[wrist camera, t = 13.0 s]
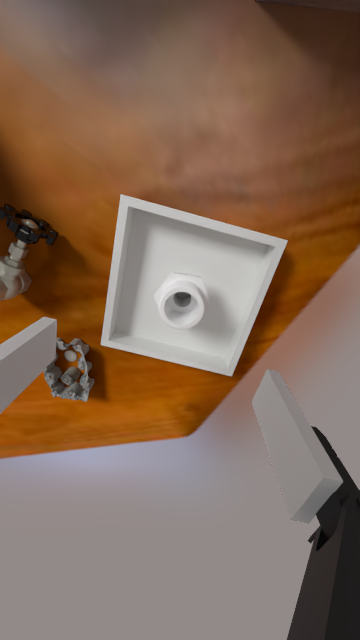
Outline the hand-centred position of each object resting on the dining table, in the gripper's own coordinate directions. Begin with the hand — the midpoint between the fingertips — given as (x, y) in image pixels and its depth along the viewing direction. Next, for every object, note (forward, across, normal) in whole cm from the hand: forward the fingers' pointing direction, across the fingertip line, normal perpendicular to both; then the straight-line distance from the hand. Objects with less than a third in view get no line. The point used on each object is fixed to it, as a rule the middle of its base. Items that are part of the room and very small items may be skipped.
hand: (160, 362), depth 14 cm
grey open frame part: (+21, -14, -18) cm, 32 cm away
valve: (+21, -22, -2) cm, 30 cm away
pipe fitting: (+20, +1, -1) cm, 20 cm away
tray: (+21, +1, -1) cm, 21 cm away
